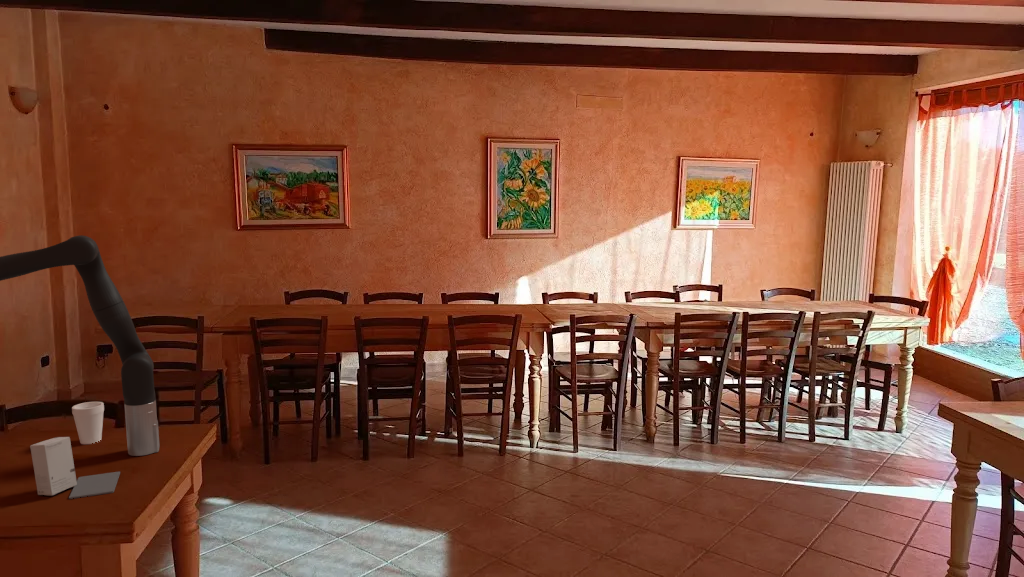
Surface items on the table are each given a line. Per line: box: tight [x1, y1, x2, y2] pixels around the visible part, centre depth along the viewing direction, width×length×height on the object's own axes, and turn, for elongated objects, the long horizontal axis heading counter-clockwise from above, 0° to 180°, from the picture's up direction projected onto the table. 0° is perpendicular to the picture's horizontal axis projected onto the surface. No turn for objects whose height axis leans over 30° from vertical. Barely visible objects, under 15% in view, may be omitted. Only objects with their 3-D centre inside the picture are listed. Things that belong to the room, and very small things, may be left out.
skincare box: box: [29, 436, 77, 497], centre depth 198 cm, size 8×6×15 cm
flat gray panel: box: [68, 471, 121, 500], centre depth 202 cm, size 11×16×1 cm
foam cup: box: [71, 401, 105, 445], centre depth 239 cm, size 10×9×13 cm
